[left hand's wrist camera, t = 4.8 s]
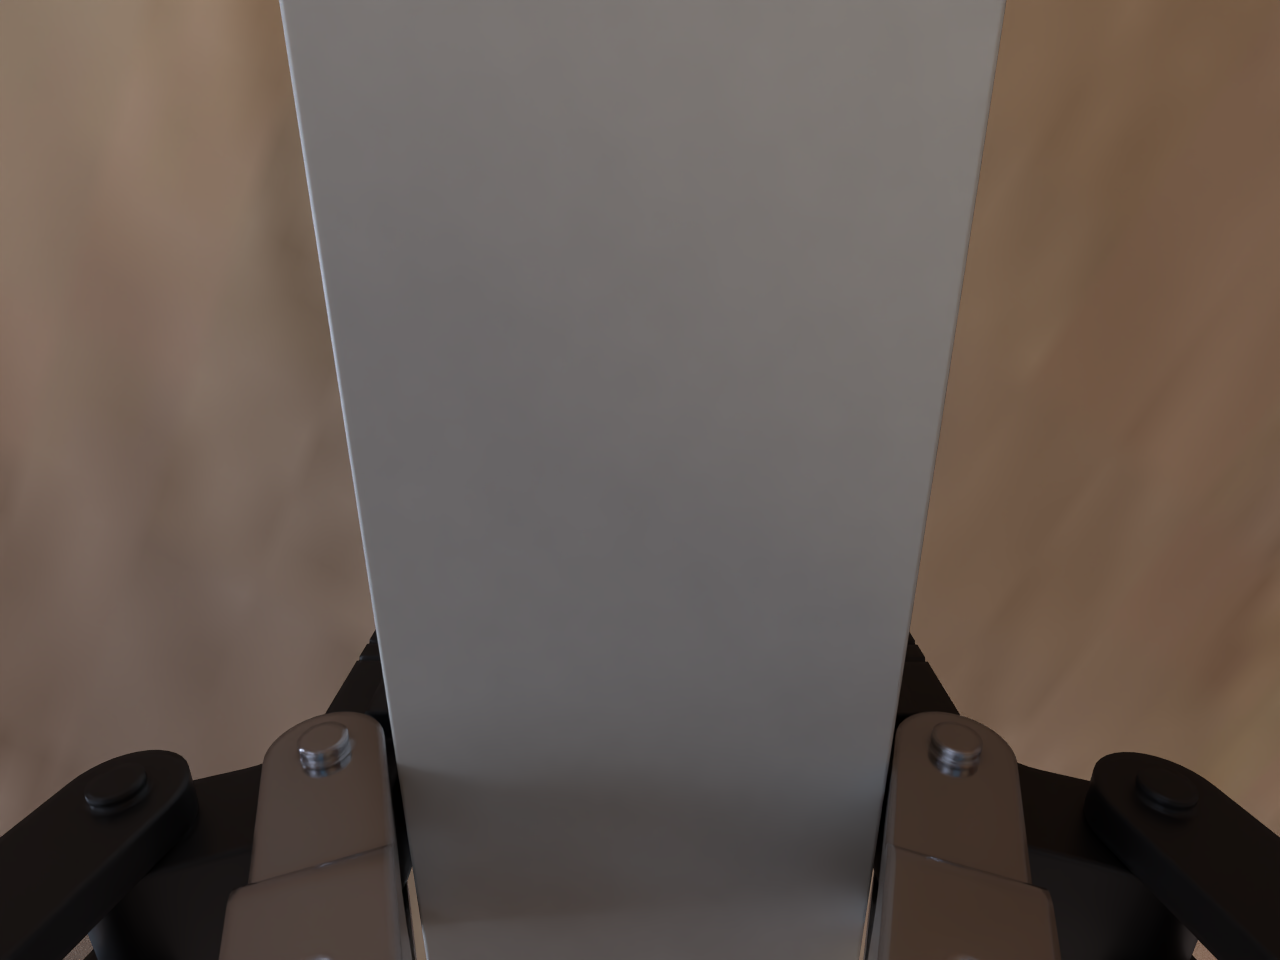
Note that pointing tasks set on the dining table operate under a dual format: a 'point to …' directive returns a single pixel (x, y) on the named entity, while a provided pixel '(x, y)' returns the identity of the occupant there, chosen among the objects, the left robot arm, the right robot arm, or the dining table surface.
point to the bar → (642, 439)
